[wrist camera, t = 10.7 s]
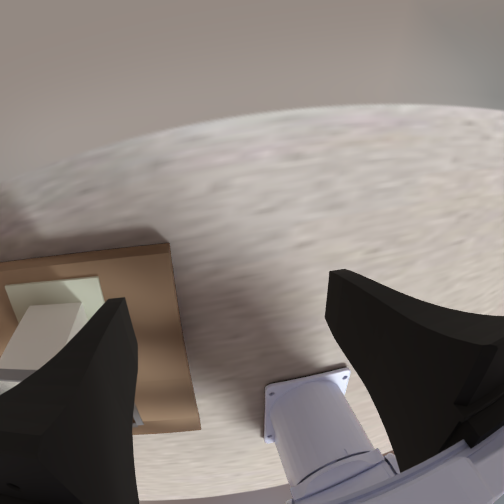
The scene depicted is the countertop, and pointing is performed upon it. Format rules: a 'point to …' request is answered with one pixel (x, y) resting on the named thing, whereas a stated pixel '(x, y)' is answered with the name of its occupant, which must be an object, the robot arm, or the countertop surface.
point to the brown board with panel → (141, 313)
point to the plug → (39, 340)
